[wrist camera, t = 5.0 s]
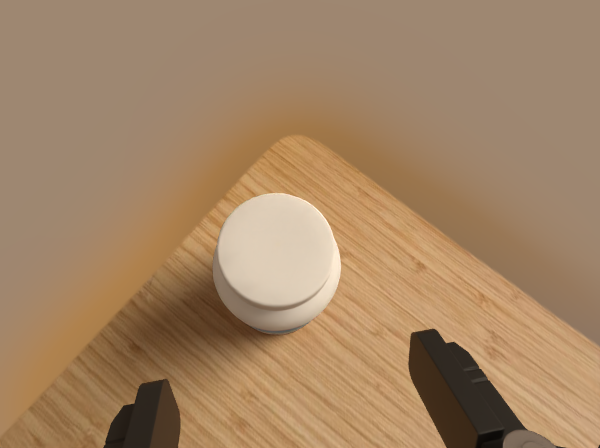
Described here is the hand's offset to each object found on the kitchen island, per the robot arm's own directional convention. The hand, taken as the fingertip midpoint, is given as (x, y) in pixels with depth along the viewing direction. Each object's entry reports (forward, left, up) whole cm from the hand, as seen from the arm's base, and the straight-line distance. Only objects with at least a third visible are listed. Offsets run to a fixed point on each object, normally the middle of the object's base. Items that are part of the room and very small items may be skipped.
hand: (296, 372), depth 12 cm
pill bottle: (+3, +4, -12) cm, 13 cm away
